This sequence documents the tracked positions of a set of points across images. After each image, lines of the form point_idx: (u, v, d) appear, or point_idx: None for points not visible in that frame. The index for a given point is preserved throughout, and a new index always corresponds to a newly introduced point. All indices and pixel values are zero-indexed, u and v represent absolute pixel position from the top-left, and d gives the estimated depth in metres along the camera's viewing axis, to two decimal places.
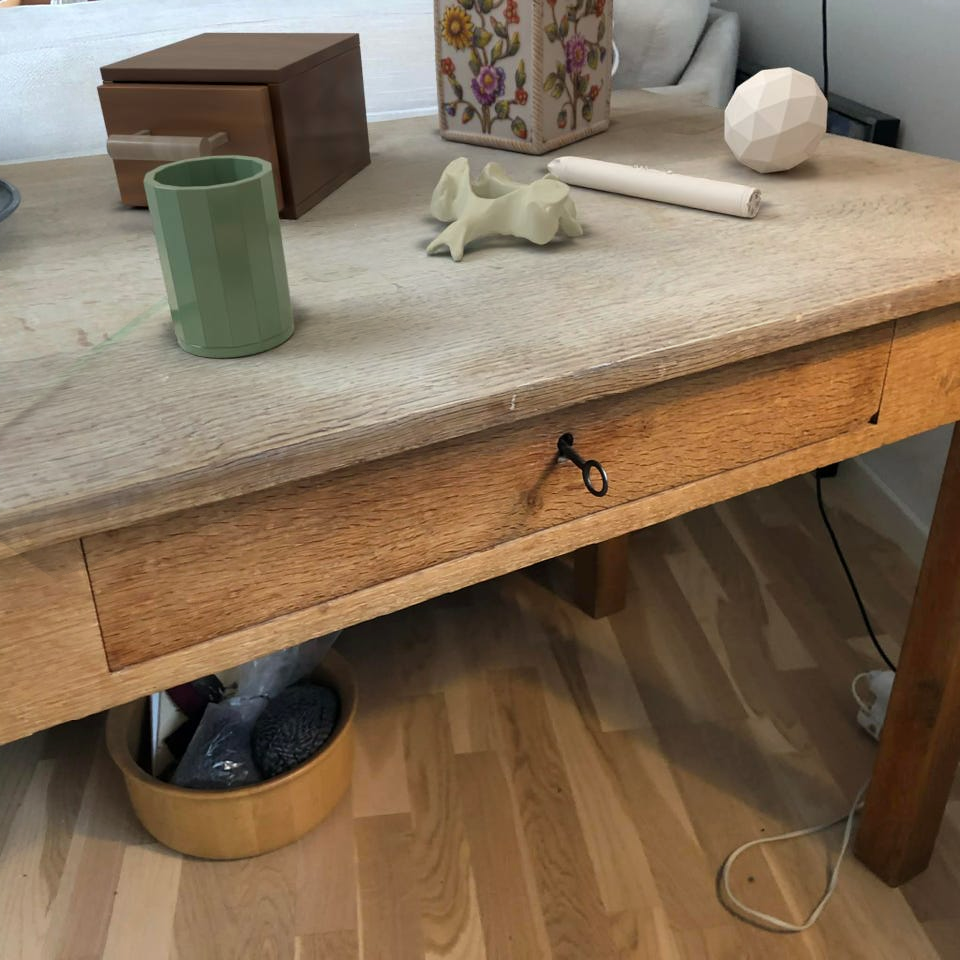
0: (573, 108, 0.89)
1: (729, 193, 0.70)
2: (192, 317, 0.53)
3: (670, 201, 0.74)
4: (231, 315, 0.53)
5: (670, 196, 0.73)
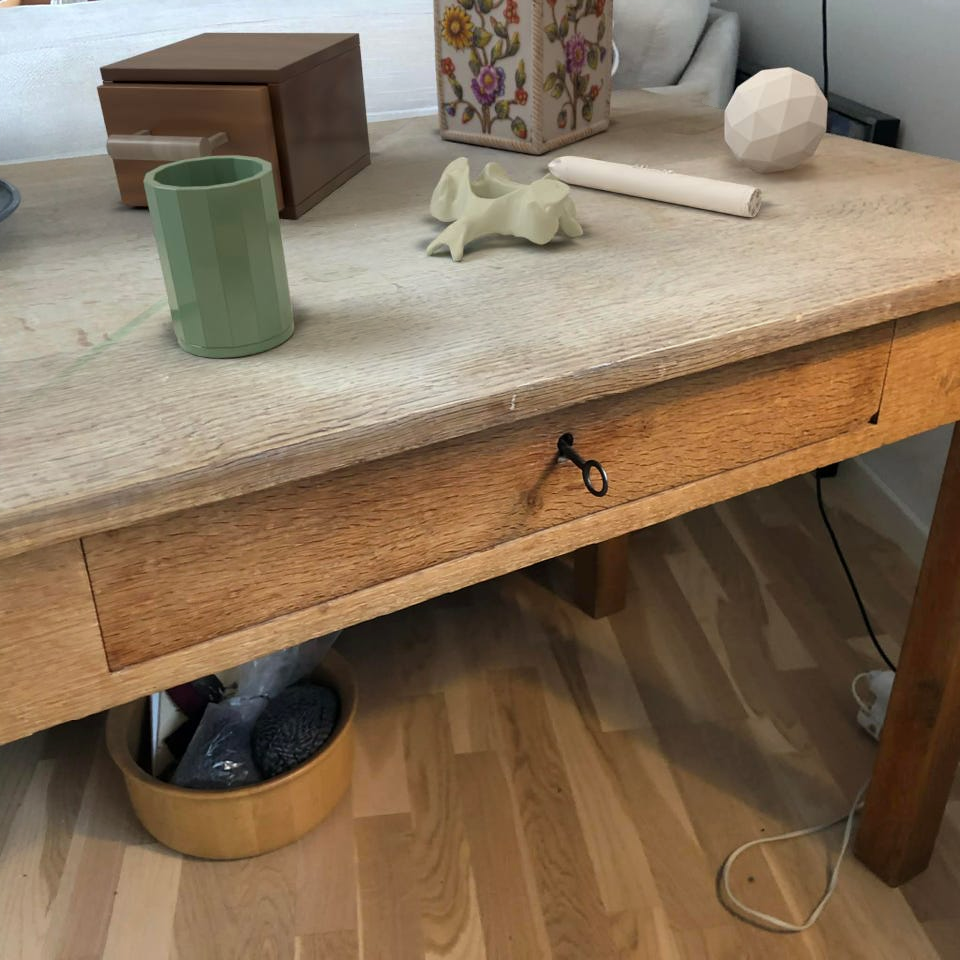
0: (573, 108, 0.89)
1: (730, 193, 0.71)
2: (192, 317, 0.53)
3: (671, 201, 0.74)
4: (231, 315, 0.53)
5: (671, 196, 0.73)
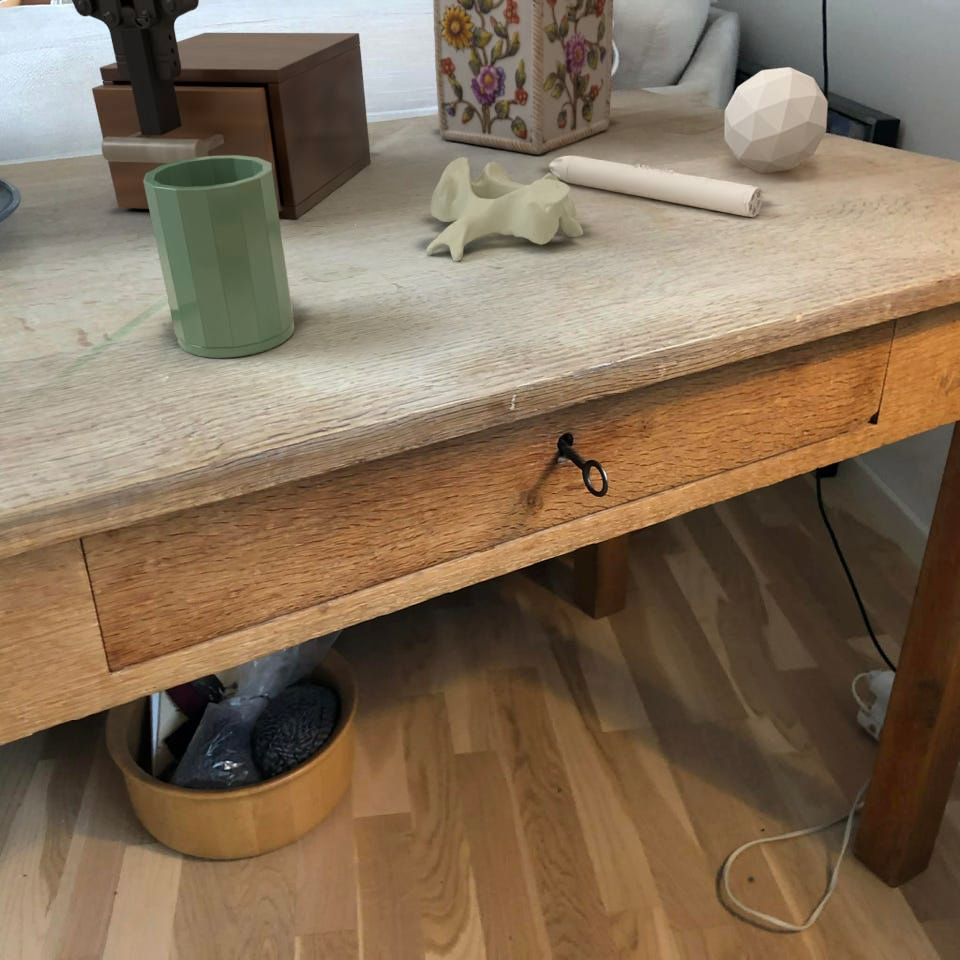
0: (573, 108, 0.89)
1: (731, 192, 0.71)
2: (192, 317, 0.53)
3: (672, 200, 0.74)
4: (231, 315, 0.53)
5: (672, 195, 0.73)
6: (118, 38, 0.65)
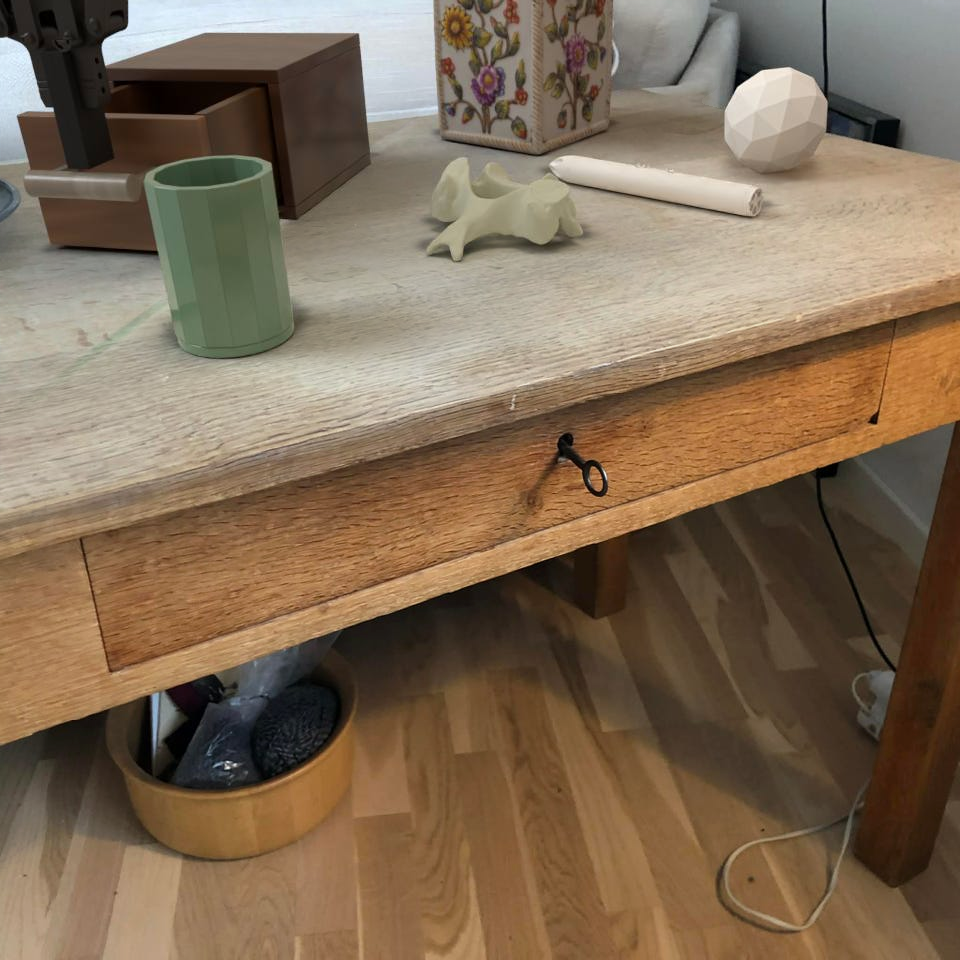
0: (573, 108, 0.89)
1: (731, 192, 0.71)
2: (192, 317, 0.53)
3: (672, 200, 0.74)
4: (231, 315, 0.53)
5: (672, 195, 0.74)
6: (39, 61, 0.58)
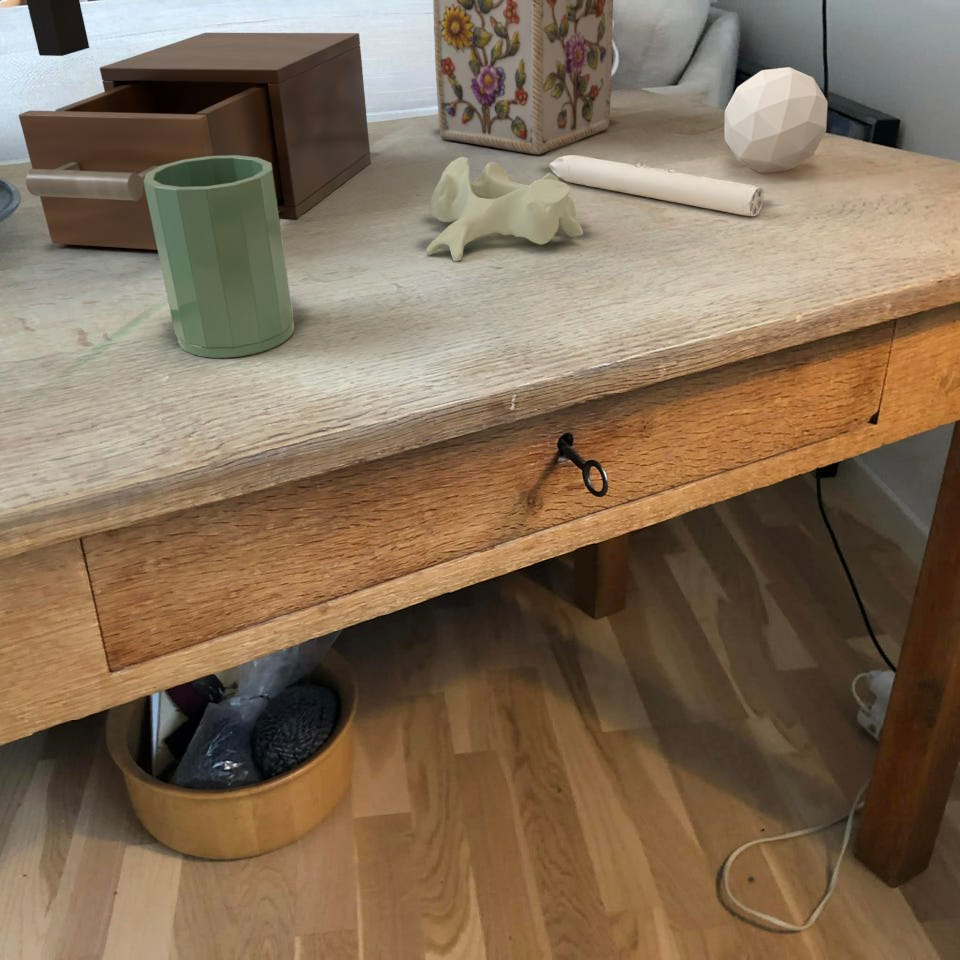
0: (573, 108, 0.89)
1: (731, 192, 0.71)
2: (192, 317, 0.53)
3: (673, 200, 0.74)
4: (231, 315, 0.53)
5: (673, 195, 0.74)
6: None
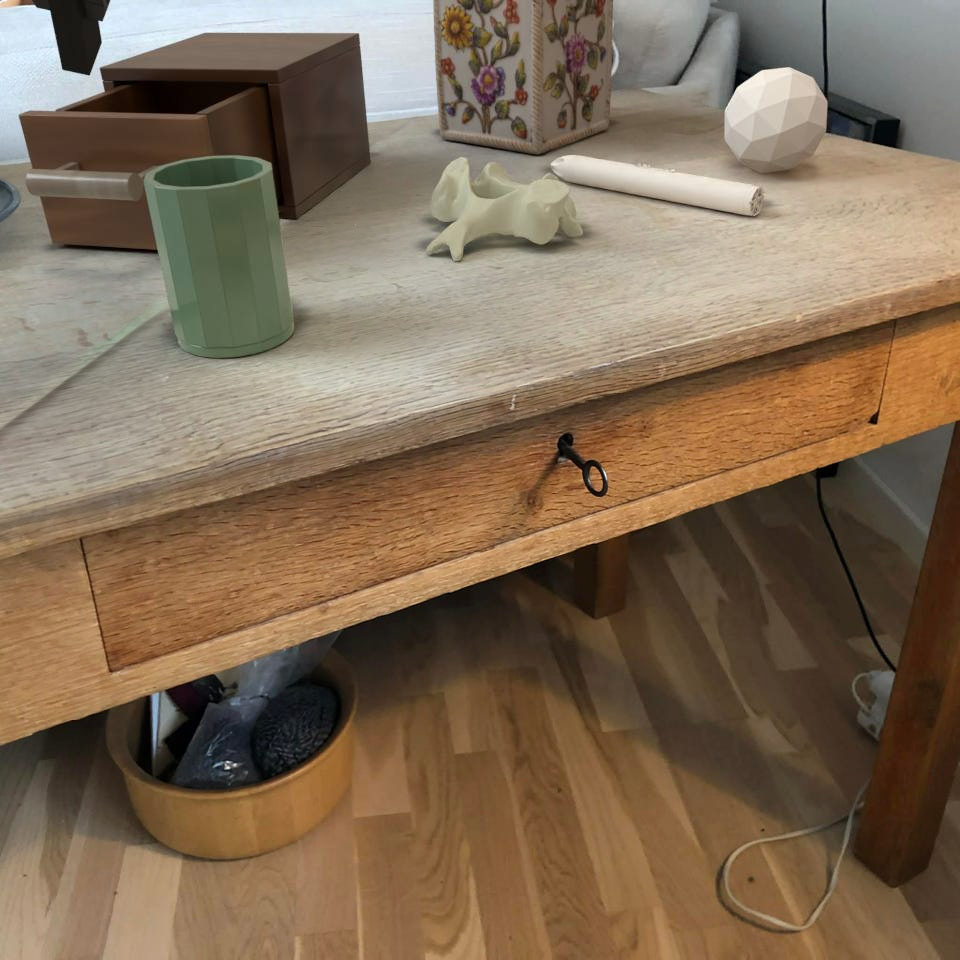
0: (573, 108, 0.89)
1: (732, 192, 0.71)
2: (192, 317, 0.53)
3: (673, 200, 0.74)
4: (231, 315, 0.53)
5: (673, 195, 0.74)
6: None
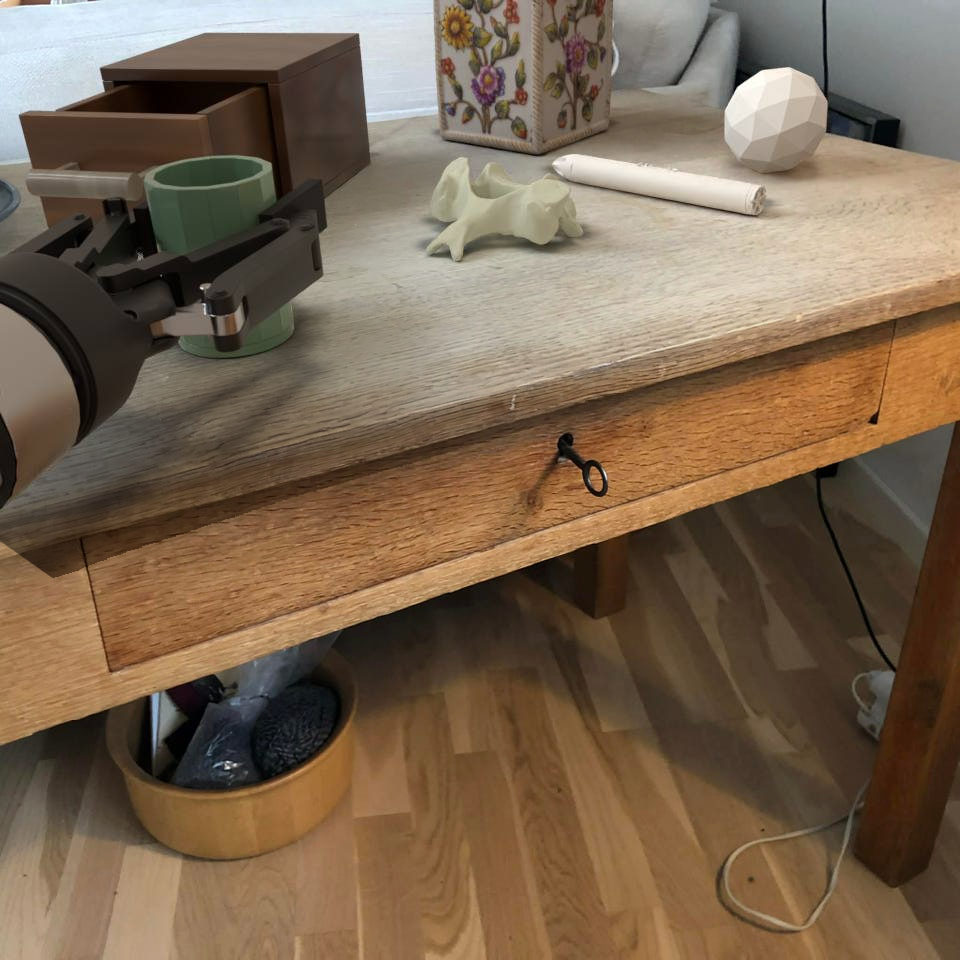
0: (573, 108, 0.89)
1: (734, 191, 0.71)
2: None
3: (675, 199, 0.74)
4: None
5: (675, 194, 0.74)
6: None
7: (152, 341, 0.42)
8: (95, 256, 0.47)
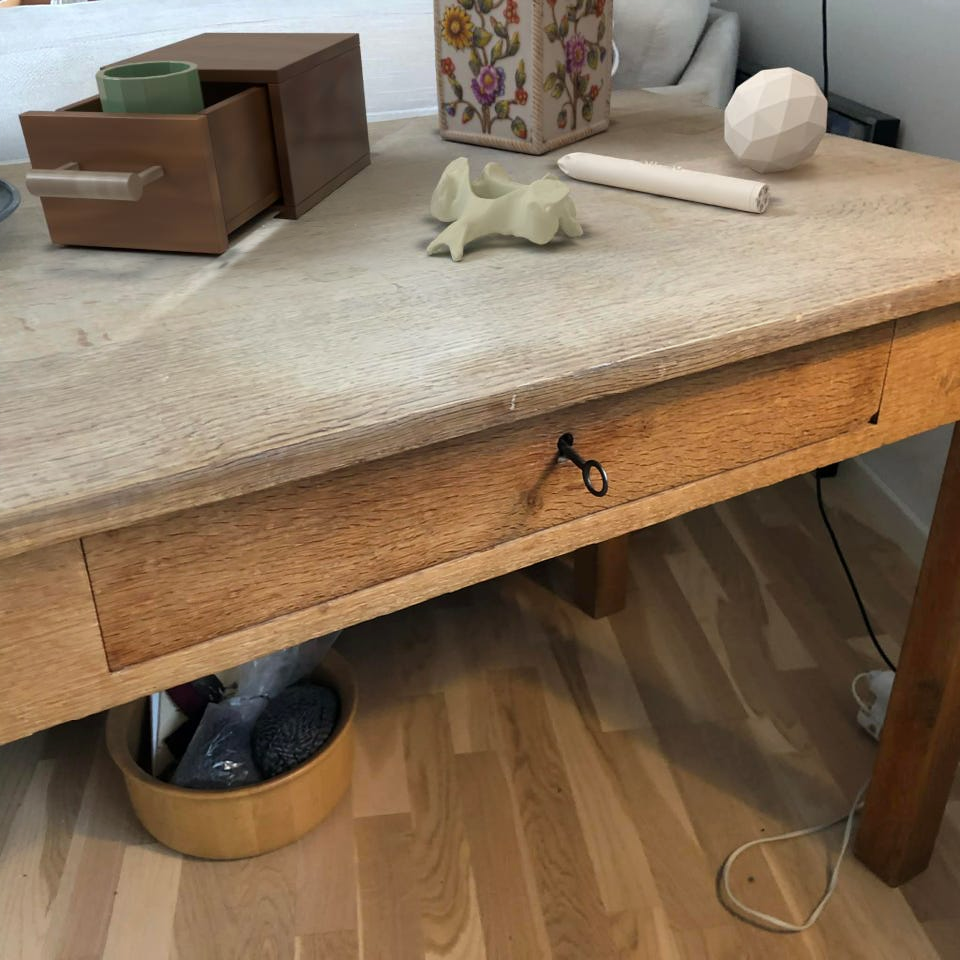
0: (573, 108, 0.89)
1: (738, 188, 0.71)
2: None
3: (680, 196, 0.75)
4: None
5: (680, 191, 0.74)
6: None
7: None
8: None
